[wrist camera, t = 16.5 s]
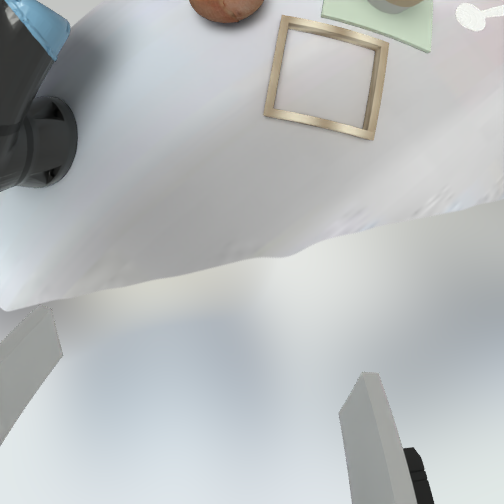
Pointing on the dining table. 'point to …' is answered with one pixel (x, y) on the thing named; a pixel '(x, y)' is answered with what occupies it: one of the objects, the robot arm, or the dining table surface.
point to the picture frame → (343, 35)
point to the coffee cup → (393, 5)
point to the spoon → (476, 15)
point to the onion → (225, 9)
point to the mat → (386, 20)
